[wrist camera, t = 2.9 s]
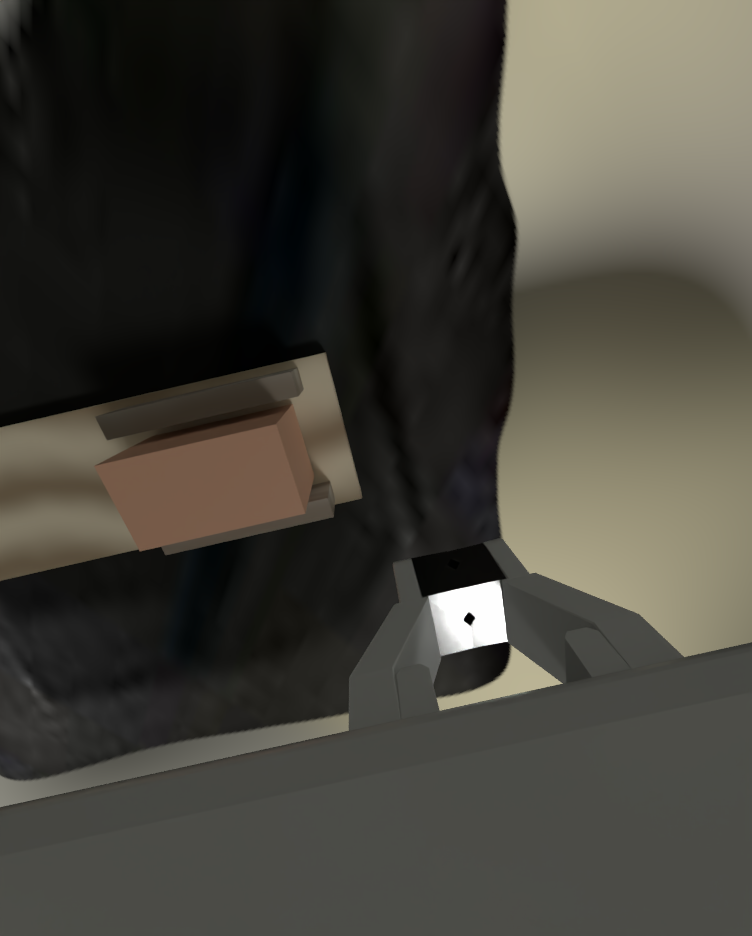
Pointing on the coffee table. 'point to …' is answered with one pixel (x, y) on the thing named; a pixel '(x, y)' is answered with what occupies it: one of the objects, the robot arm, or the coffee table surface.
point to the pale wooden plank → (132, 421)
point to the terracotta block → (211, 478)
